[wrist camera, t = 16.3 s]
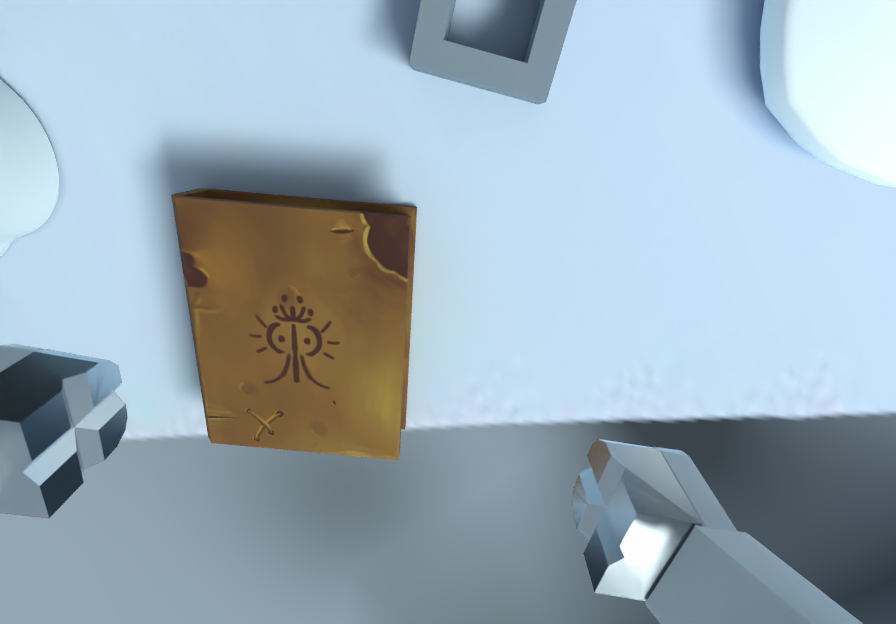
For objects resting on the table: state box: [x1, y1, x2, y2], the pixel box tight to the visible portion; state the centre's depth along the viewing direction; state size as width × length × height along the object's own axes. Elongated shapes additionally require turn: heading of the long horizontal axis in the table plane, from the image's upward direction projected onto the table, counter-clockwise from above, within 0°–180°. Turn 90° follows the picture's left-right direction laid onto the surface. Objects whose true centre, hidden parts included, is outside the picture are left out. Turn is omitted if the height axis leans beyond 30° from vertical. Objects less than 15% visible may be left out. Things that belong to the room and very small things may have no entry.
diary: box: [172, 189, 417, 460], centre depth 41 cm, size 23×19×6 cm
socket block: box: [409, 0, 577, 104], centre depth 31 cm, size 10×10×4 cm
